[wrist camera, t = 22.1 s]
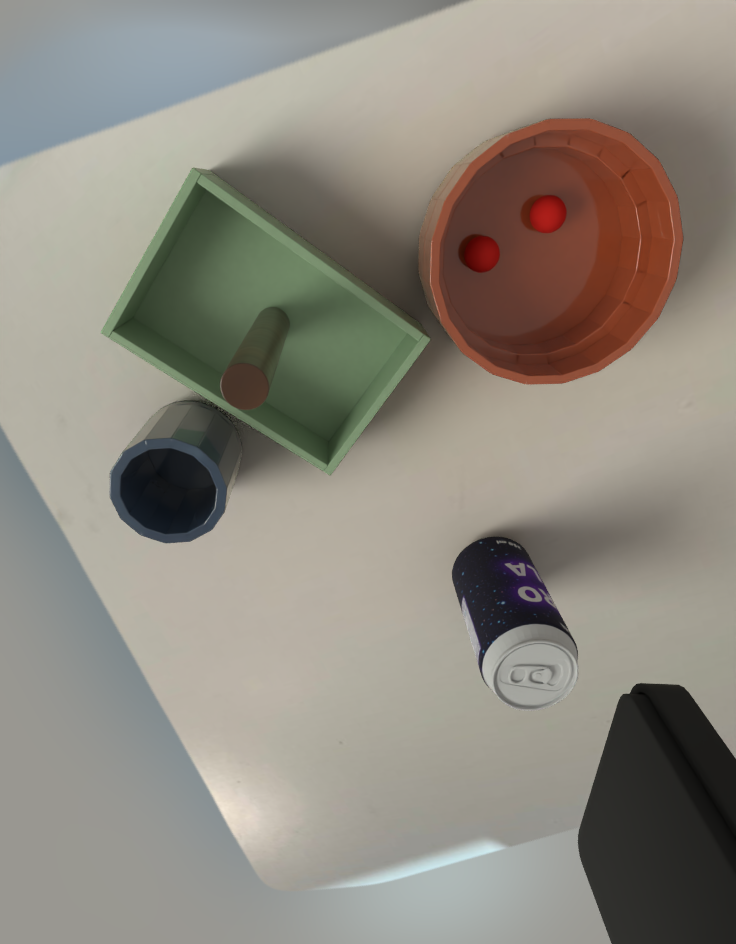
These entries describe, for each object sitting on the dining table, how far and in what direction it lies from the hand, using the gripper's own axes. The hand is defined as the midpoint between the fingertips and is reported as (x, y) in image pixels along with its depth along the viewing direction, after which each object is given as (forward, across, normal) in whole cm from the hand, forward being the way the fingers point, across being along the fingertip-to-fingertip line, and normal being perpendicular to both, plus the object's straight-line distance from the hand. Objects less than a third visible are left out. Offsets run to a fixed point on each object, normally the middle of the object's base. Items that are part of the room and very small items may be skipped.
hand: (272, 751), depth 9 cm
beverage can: (+34, -13, +17) cm, 41 cm away
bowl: (+34, -12, -5) cm, 37 cm away
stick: (+34, +3, +1) cm, 34 cm away
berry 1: (+32, -9, -4) cm, 34 cm away
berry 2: (+32, -12, -7) cm, 35 cm away
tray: (+34, +3, +1) cm, 34 cm away
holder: (+34, +8, +9) cm, 36 cm away
